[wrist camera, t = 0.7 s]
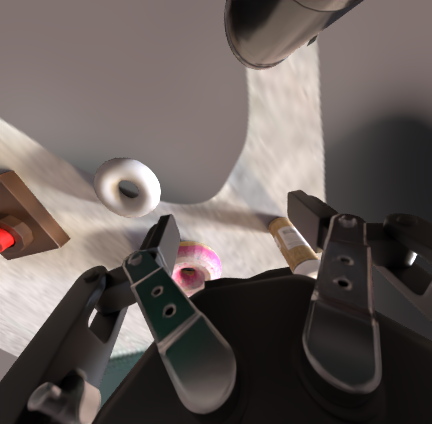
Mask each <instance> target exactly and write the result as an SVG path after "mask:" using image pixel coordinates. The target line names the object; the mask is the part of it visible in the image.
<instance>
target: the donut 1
mask: <svg viewBox="0 0 432 424" xmlns="http://www.w3.org/2000/svg"><path fill="white" fill-rule="evenodd" d="M122 180H128V181H130V182H132V183H134V184H135V185H136V186H137V188H138V191H139V195H138V196H137V197H136V198H129V197H127V196H125V195H124V194H122V193H121V191H120V189H119V182H120V181H122ZM94 189H95V192H96V195H97V197H98V198H99V200H100V201H101V203H102V204H103V205H104V206H105V207H106V208H108V209H109V210H110V211H112V212H114V213H116V214H118V215H120V216H124V217H128V218H131V217H141V216H144V215H147V214H148V213H150V212H151V211H152V210H154V209H155V207H156V206H157V204H158V203H159V198H160V193H161V192H160V185H159V182H158V180H157V178H156V176H155V175H154V173H153V172H152V171H151V170H150V169H149V168H148V167H147V166H145V165H144V164H142V163H140V162H139V161H136V160H133V159H130V158H114V159H111V160H109V161H106V162H105V163H104V164H103V165H102V166H100V167H99V168H98V169H97V172H96V174H95V177H94Z"/></svg>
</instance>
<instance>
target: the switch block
mask: <svg viewBox="0 0 432 424" xmlns="http://www.w3.org/2000/svg"><path fill="white" fill-rule="evenodd" d="M0 227H1V228H3V229H5V230H7V231H8V232H9V233H10V234H11V235H12V236H13V237H14V238H15V243H14V244H13V245H11V246H10V247H8V248H6V249H5V250H3V251H2V252H0V254H1V255H2V256H3V257H5V258H6V259H7V260H11V259H15V258H19V257H23V256H28V255H32V254H36V253H40V252H45V251H49V250H53V249H57V248H61V247H62V246H63V245H64V244H65V243H66V242H67V241H68V240H70V238H69V237H68V235H67V234H66V233H65V232H64V231H63V229H62V228H61V227H60V226H59V225H58V223H57V222H56V221H55V220H54V219H53V217H52V216H51V215H50V214H49V213H48V211H47V210H46V209H45V208H44V207H43V205H42V204H41V203H40V202H39V200H38V199H37V198H36V197H35V196H34V194H33V193H32V192H31V191H30V190H29V188H28V187H27V186H26V185H25V184H24V182H23V181H22V180H21V179H20V178H19V176H18V175H17V174H16V173H15V172H14V171H9V172H5V173H2V174H0Z"/></svg>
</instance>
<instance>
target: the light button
mask: <svg viewBox="0 0 432 424" xmlns="http://www.w3.org/2000/svg"><path fill="white" fill-rule="evenodd" d="M14 243H15V238H14V237H13V236H12V235H11V234H10V233H9V232H8V231H7V230H5V229H3V228H1V227H0V252H2V251H3V250H5V249H6V248H8V247H10V246H11V245H13V244H14Z"/></svg>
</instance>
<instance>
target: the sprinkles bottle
mask: <svg viewBox="0 0 432 424" xmlns="http://www.w3.org/2000/svg"><path fill="white" fill-rule="evenodd" d="M269 232H270V233H271V235H272V236H273V238H274V240H275V242H276V244H277V246H278V248H279V249H280V251H281V253H282V255H283V256H284V258H285V259H286V261H287V263H288V265H289V266H290V268H291V270H292V272H293V274H302V275H306V276H309V277H312V278H315V279H316V278H317V274H318V269H319V265H320V259H319V258H318V257H317V255H316V254H315V253H314V252H313V250H312V248H311V247H310V246H309V245H308V243H307V242H306V241H305V239H304V238H303V237H302V236H301V234H300V233H299V232H298V231H297V229H296V228H294V226H293V225H292V224H291V222H290V220H289V219H287V218H285V217H280V218H276V219H274V220H273V221H272V222H271V223H270V225H269Z"/></svg>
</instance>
